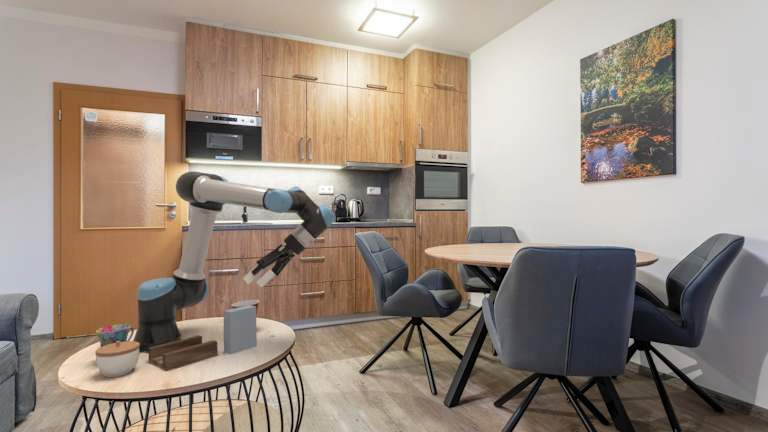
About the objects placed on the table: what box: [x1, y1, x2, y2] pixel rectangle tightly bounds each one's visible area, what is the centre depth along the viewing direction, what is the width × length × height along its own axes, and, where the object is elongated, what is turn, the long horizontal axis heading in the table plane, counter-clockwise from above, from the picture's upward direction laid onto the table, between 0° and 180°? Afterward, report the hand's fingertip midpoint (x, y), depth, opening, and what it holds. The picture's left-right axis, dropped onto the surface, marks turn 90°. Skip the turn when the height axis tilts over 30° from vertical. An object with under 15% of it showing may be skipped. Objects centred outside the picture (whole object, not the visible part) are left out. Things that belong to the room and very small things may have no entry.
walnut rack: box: [147, 334, 219, 372], centre depth 123 cm, size 13×16×4 cm
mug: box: [95, 323, 135, 347], centre depth 123 cm, size 12×9×11 cm
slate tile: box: [223, 305, 257, 355], centre depth 132 cm, size 4×10×14 cm, turn 143°
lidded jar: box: [95, 340, 140, 378], centre depth 112 cm, size 11×11×9 cm
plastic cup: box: [230, 299, 260, 316], centre depth 152 cm, size 11×11×12 cm
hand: (252, 283), depth 131 cm, fingers open, 13 cm apart
